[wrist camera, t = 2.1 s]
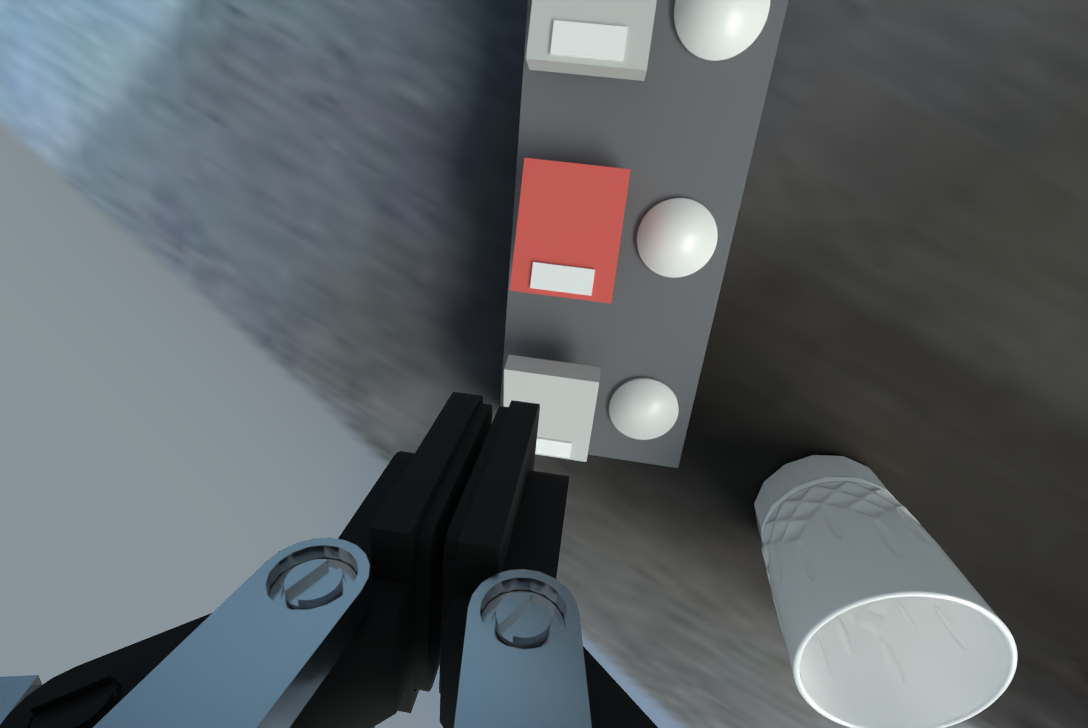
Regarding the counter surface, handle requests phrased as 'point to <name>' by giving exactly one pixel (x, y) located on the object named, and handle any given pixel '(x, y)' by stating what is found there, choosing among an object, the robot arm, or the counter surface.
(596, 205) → the outlet rocker
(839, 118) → the counter surface
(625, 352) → the power strip
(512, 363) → the rocker outlet
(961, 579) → the white cup
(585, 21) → the outlet rocker
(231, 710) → the robot arm
